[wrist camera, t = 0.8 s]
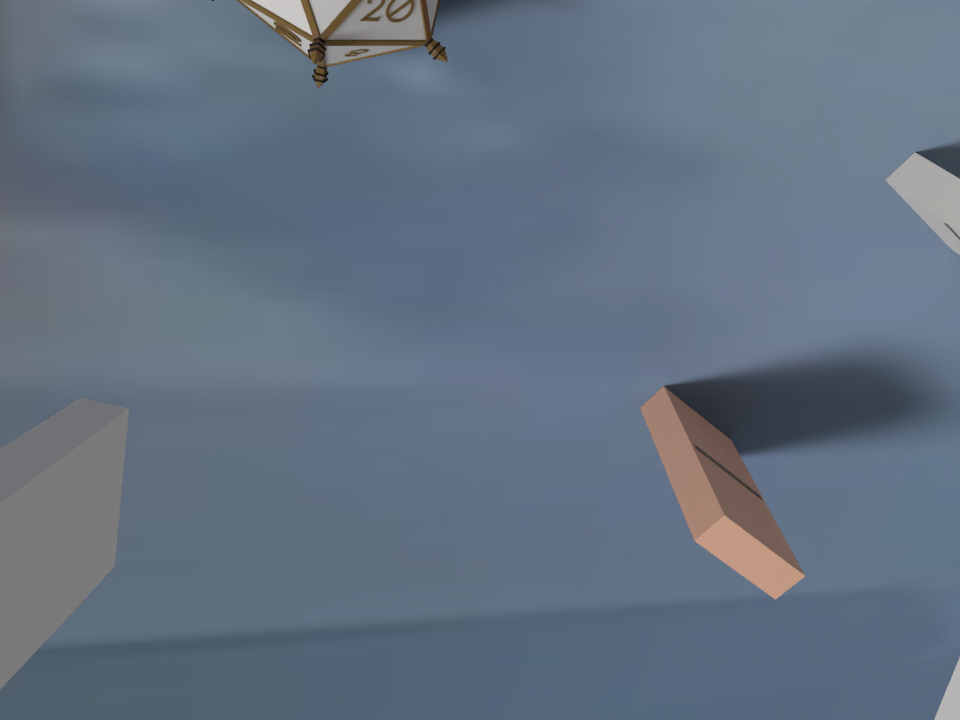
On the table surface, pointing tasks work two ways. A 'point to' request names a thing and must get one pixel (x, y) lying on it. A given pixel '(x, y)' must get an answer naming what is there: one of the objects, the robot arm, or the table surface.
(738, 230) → the table surface
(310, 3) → the game die
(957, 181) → the domino
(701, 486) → the domino
